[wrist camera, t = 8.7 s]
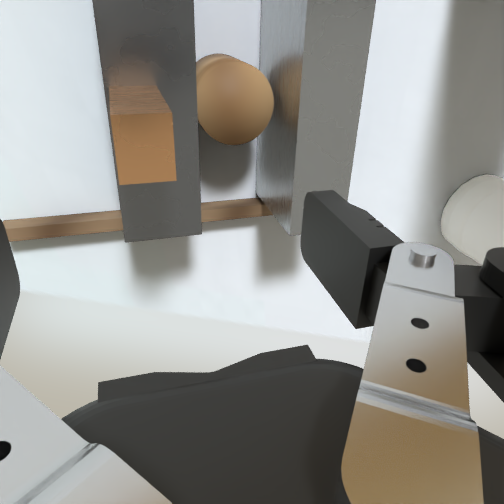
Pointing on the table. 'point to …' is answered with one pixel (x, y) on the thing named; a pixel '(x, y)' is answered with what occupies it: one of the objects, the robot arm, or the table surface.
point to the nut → (232, 99)
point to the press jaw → (152, 113)
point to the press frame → (113, 220)
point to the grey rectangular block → (310, 99)
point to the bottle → (475, 217)
